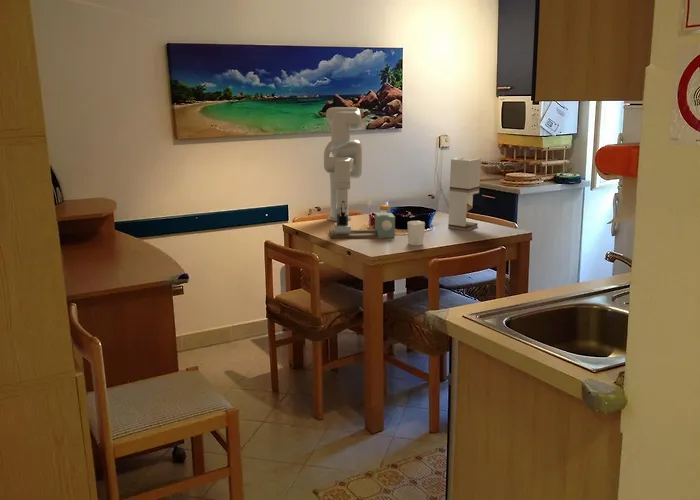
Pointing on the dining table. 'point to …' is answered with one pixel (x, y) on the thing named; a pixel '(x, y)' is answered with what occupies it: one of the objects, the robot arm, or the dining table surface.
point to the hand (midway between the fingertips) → (342, 223)
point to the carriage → (342, 226)
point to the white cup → (416, 232)
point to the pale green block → (385, 225)
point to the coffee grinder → (463, 191)
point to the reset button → (384, 207)
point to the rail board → (353, 234)
